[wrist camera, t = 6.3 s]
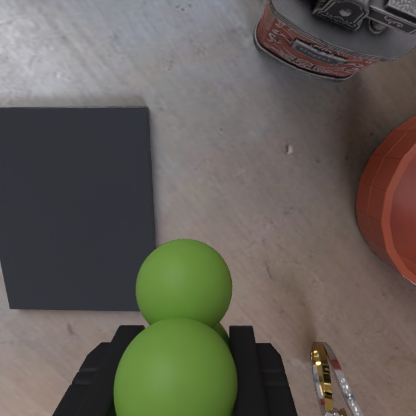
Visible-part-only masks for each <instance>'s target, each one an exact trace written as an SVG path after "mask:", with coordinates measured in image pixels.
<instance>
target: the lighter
mask: <svg viewBox="0 0 416 416" xmlns="http://www.w3.org/2000/svg"><path fill="white" fill-rule="evenodd" d="M253 37H254V44H255V46H256V48H257V49H258V50H259V51H260V52H261V53H263V54H264V55H266V56H267V57H269V58H270V59H272V60H273V61H275V62H276V63H278V64H280V65H282V66H284V67H286V68H288V69H290V70H292V71H294V72H297V73H300V74H303V75H306V76H309V77H313V78H316V79H322V80H328V81H334V82H340V81H343V80H345V79H348V78H350V77H351V76H353V75H354V74H355V73H356V72H358V71H360V70H362V69H365V68H367V67H369V66H372V65H374V64H376V63H379V62H381V61H382V62H388V61H393V60H395V59H398V58H400V57H402V56H404V55H406V54H408V53H409V52H410V51H411V50H412V49H413V48H414V47H415V46H416V0H268V2H267V5H266V8H265V10H264V13H263V15H262V16H261V17H260V19H259V21H258V22H257V24H256V27H255V31H254V35H253Z"/></svg>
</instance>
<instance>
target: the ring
mask: <svg viewBox="0 0 416 416" xmlns="http://www.w3.org/2000/svg"><path fill="white" fill-rule="evenodd" d="M310 359H311V365H312V374H313V381H314V386H315V391H316V395H317V399H318V403H319V407H320V410H321V414H322V416H347V413H346V411H345V409H344V408H341V409H340V411H339V410H338V409H336V408H333V402H332V388H331V379H330V371H329V365H330V367H331V370H332V372H333V375H334V377H335V380H336V382H337V384H338V387H339V389H340V391H341V393H342V396H343V398H344V400H345V402H346V404H347V406H348V408H349V410H350V412H351V414H352V415H353V416H363V414H362V412H361V410H360V408H359V406H358V404H357V402H356V400H355V398H354V396H353V394H352V392H351V389H350V387H349V385H348V383H347V380H346V378H345V376H344V374H343V371H342V369H341V367H340V365H339V362H338V360H337V358H336V356H335V354H334V352H333V350H332V349H331V347H330V346H329V345H328V344H327V343H326V342H313V344H312V350H311V352H310ZM328 362H329V365H328Z"/></svg>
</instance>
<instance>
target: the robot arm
mask: <svg viewBox="0 0 416 416" xmlns="http://www.w3.org/2000/svg"><path fill="white" fill-rule="evenodd" d="M144 329H145V327H144V326H143V325H121V326H119V328H118V330H117V331H116V333H115V335H114V337H113V339H112V341H111V342H102V343H100V344H99V345H98V346H97V347H96V348H95V349H94V350H93V351H91V352H90V353H89V354H88V355H87V357H86V359H85V361H84V362H83V364H82V366H81V367H80V369H79V372H77V374H76V376H75V378H74V379H73V381H72V385H70V386H69V388H68V390H67V391H66V393H65V395H64V396H63V398H62V400H61V402H60V403H59V405H58V407H57V408H56V410H55V412H54V414H53V415H52V416H117V415H116V410H115V405H114V381H115V375H116V372H117V368H118V365H119V362H120V360H121V358H122V356H123V354H124V352H125V350H126V349H127V347H128V346H129V344H130V343H131V342H132V340H133V339H134V338H135V337H136V336H137V335H138V334H139V333H140V332H141V331H143V330H144ZM229 340H230V352H231V355H232V357H233V360H234V363H235V367H236V372H237V381H238V389H237V397H236V400H235V404H234V411H233V414H232V416H298V415H297V412H296V408H295V405H294V401H293V398H292V394H291V391H290V387H289V383H288V380H287V376H286V374H285V369H284V366H283V362H282V359H281V356H280V354H279V353H278V352H277V351H276V349H275V348H274V347H273V346H272V345H271V343H255V337H254V332H253V327H252V326H229Z"/></svg>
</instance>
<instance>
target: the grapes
mask: <svg viewBox="0 0 416 416" xmlns="http://www.w3.org/2000/svg"><path fill="white" fill-rule="evenodd" d="M231 297H232V279H231V275H230V271H229V269H228V266H227V264H226V263H225V261H224V259H223V258H222V257H221V255H220V254H219V253H218V252H217V251H216V250H214V249H213V248H212V247H210V246H209V245H207V244H205V243H203V242H200V241H197V240H192V239H178V240H173V241H170V242H167V243H165V244H163V245H161V246H159V247H158V248H156V249H155V250H154V251H153V252H152V253H151V254H150V255H149V256H148V257H147V258H146V260H145V261H144V263H143V264H142V266H141V268H140V271H139V273H138V276H137V281H136V298H137V303H138V307H139V309H140V311H141V313H142V315H143V317H144V318H145V320H146V321H147V322H148V323H149V324H150V326H148V327H147V328H145V329H144V330H143V331H141V332H140V333H139V334H138V335H137V336H136V337H135V338H134V339H133V340H132V342H131V343H130V344H129V346H128V347H127V349H126V350H125V352H124V354H123V356H122V358H121V360H120V362H119V365H118V368H117V372H116V375H115V381H114V405H115V410H116V415H117V416H232V414H233V411H234V404H235V400H236V397H237V389H238V381H237V372H236V367H235V363H234V360H233V357H232V355H231V352H230V340H229V337H228V334H227V332H226V331H225V329H224V327H223V326H222V325H221V323H220V321H221V319H222V318H223V317H224V315H225V313H226V311H227V310H228V307H229V304H230V301H231Z"/></svg>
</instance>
